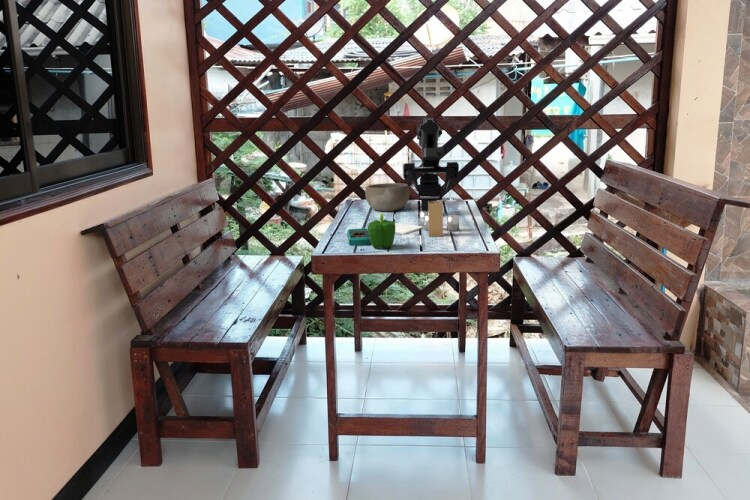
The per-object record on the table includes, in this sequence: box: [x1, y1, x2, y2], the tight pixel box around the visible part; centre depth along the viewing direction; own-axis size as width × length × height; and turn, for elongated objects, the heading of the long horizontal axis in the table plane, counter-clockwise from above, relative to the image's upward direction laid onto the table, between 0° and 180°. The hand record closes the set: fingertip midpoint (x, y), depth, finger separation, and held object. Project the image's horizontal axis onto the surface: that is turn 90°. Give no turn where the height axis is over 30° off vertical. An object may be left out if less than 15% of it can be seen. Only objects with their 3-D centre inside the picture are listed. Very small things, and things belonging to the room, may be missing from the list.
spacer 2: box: [423, 214, 428, 232], centre depth 220 cm, size 4×4×5 cm
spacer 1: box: [419, 210, 428, 226], centre depth 227 cm, size 4×4×5 cm
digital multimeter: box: [346, 228, 372, 247], centre depth 208 cm, size 7×15×3 cm, turn 5°
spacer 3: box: [446, 214, 460, 233], centre depth 217 cm, size 4×4×5 cm
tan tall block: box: [427, 200, 444, 238], centre depth 210 cm, size 4×4×11 cm
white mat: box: [394, 222, 424, 235], centre depth 223 cm, size 12×14×1 cm
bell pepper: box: [367, 213, 396, 249], centre depth 197 cm, size 8×8×10 cm
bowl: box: [364, 182, 410, 212], centre depth 260 cm, size 17×18×10 cm
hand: (431, 190), depth 217 cm, fingers open, 9 cm apart
